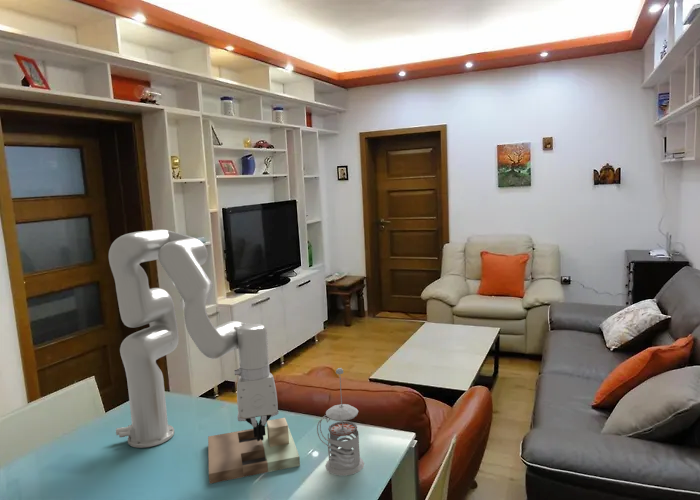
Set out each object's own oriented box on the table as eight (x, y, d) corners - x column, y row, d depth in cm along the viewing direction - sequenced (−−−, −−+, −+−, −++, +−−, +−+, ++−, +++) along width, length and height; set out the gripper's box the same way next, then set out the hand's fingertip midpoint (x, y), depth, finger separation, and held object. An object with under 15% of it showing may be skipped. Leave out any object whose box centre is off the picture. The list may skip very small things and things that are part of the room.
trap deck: (209, 483, 121) (208, 473, 120) (208, 445, 140) (208, 436, 140) (300, 465, 127) (299, 456, 126) (287, 430, 146) (286, 422, 145)
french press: (356, 478, 120) (351, 377, 117) (312, 471, 124) (306, 373, 121) (369, 457, 129) (364, 363, 126) (327, 451, 133) (322, 359, 130)
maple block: (270, 447, 132) (268, 428, 131) (267, 438, 137) (266, 420, 136) (289, 443, 133) (287, 425, 133) (286, 435, 138) (285, 417, 137)
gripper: (226, 380, 126) (231, 450, 128) (285, 372, 130) (290, 439, 132) (224, 371, 133) (230, 437, 135) (281, 363, 137) (285, 427, 139)
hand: (259, 438), depth 133 cm, fingers closed
